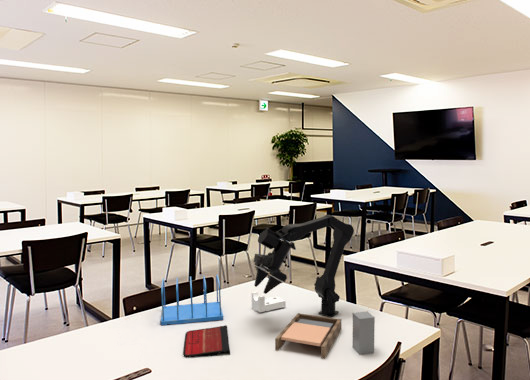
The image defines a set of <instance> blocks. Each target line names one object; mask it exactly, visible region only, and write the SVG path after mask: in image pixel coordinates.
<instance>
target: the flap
mask: <svg viewBox="0 0 530 380" xmlns="http://www.w3.org/2000/svg"><path fill="white" fill-rule="evenodd" d="M332 328H333V323H326V322H319V321H312V320H306V319H300V320H299V321H298V322H294V323H293V324H292V325H291V326H290V327H289V328H288V330H287V331H286V332H285V333H284V334H283V335H282V337H281V340H286V342H293V343H297V344H304V345H310V346H315V347H316V346H317V347H321V346H322V344H323V343H324V341H325V340H326V338H327V336H328V335H329V333H330V332H331V330H332Z"/></svg>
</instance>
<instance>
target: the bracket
mask: <svg viewBox="0 0 530 380" xmlns="http://www.w3.org/2000/svg"><path fill="white" fill-rule="evenodd" d="M286 303H287V301H286V300H285V299H283V298H281V297H279V296H278V295H277V296H272V297H268V298H265V295H260V296H259V291H253V292H251V310H253V311H254V312H257V313H263V312H269V311H272V310H277V309H281V308H285V307H287V304H286Z"/></svg>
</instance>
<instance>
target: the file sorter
mask: <svg viewBox="0 0 530 380" xmlns="http://www.w3.org/2000/svg"><path fill="white" fill-rule="evenodd" d="M175 279H176V280H175V281H176V282H175V284H176V285H175V286H176V287H175V290H176V292H175V294H176V305H167V306H166V291H165V290H166V289H165V287H166V286H165V278H162V279H161V289H160V290H161V291H160V294H161V318H160V325H161V326H165V325H166V326H168V325H167V324H170V325H179V324H181V325H182V324H189V323H190V324H192V323H199V322H200V323H201V322H209V321H210V322H211V321H221V320H222V321H223V320H224V314H223V310H222V304H221V303H222V302H221V297H222V296H221V284H220V283H221V282H220V279H219V275H218V274H216V276H215V281H216V283H215V284H216V285H215V286H216V301H213V302H212V301H211V302H208V301H207V281H206V278H205V275H203V277H202V281H203V282H202V283H203V284H202V285H203V302H200V303H193V285H192V283H193V281H192V276H189V287H190V290H189V291H190V303H189V304H180V300H179V299H180V298H179V297H180V296H179V295H180V294H179V277H176V278H175Z"/></svg>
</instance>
